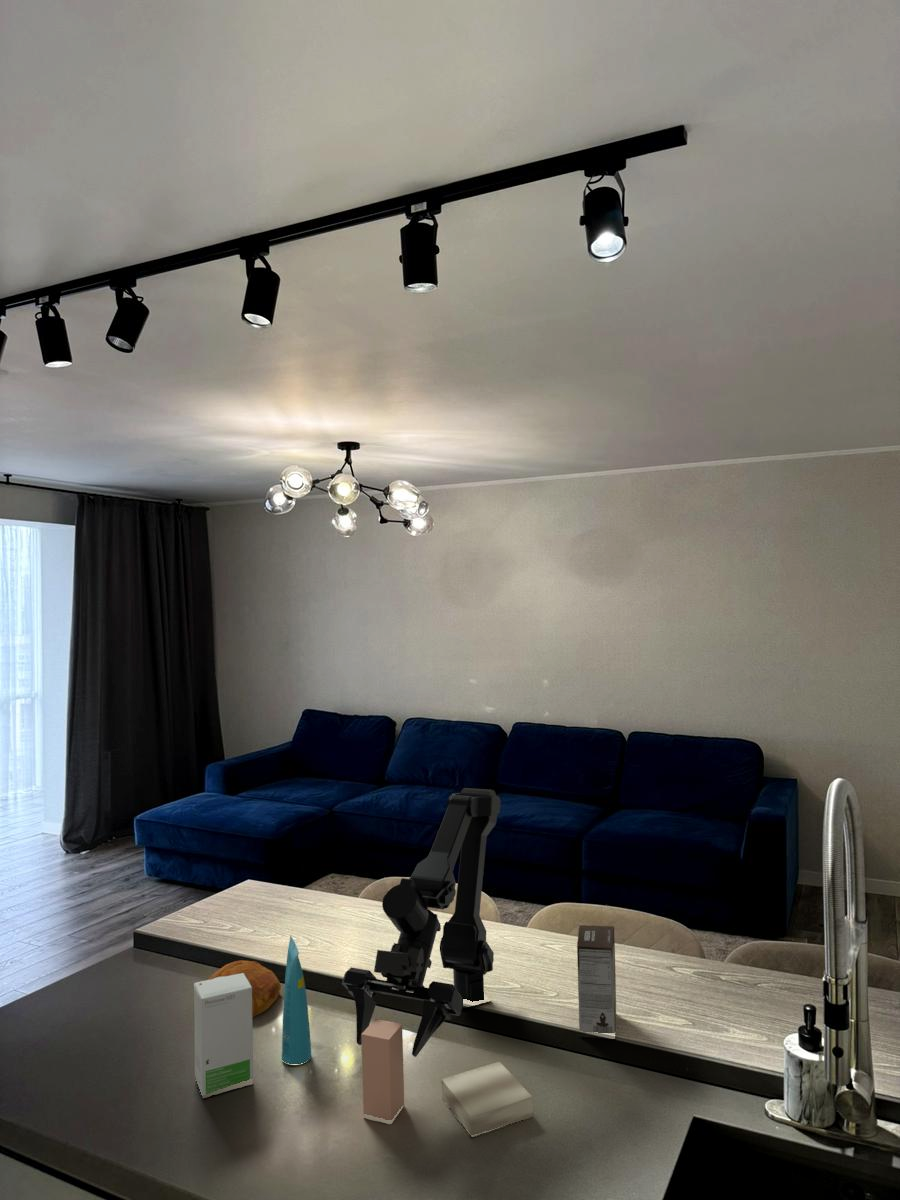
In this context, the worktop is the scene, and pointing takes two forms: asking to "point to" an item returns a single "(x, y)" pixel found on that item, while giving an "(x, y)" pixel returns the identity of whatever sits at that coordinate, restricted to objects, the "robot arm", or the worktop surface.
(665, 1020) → the worktop surface
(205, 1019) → the skincare box
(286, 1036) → the tube
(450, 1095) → the plinth
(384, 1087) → the column
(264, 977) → the bread loaf
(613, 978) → the coffee box
